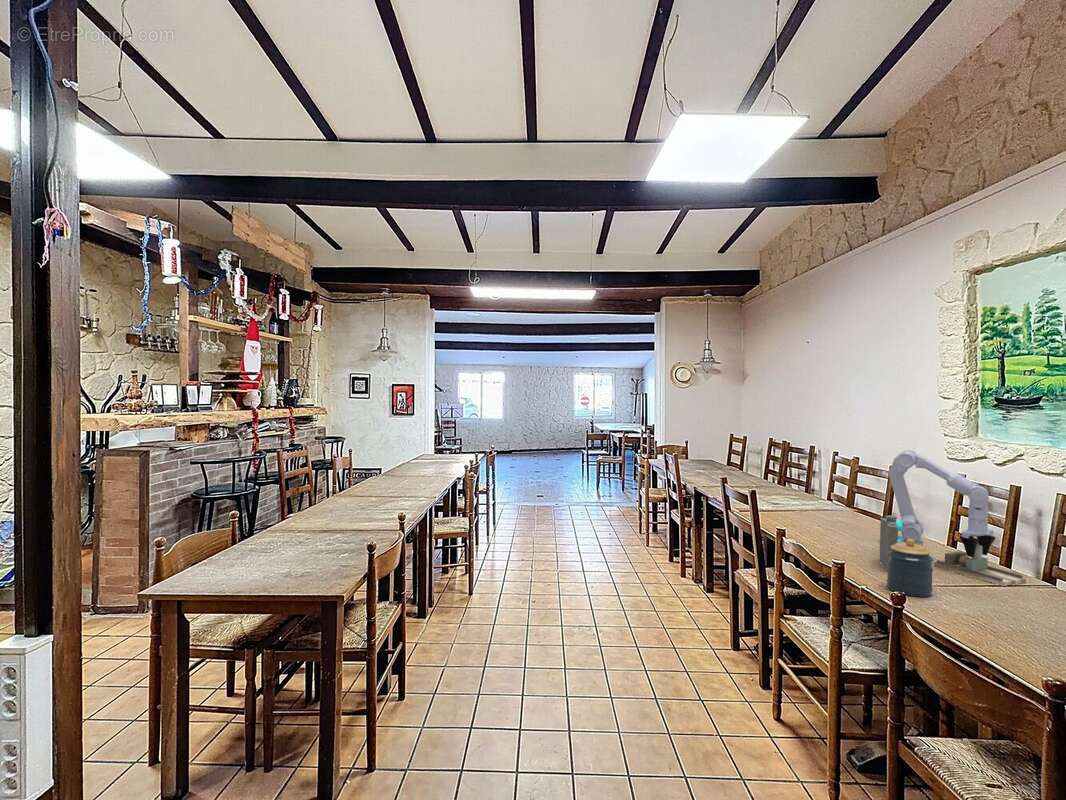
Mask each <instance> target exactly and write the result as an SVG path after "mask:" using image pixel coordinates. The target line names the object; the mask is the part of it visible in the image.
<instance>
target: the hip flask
mask: <svg viewBox="0 0 1066 800" xmlns="http://www.w3.org/2000/svg"><path fill="white" fill-rule="evenodd" d="M896 520H898V516H894V515H885V517H880V525H879V526H880V527H879V528H880V530H879V533H880V534H879V563H880V562H881V563H882V564H883V565H884V566H885V567H886V568H885V567H884V568H885V570H886V569H887V570H886V573H887V572H888V564H887V562H888V561H889V555H888V554H887V553H888V552H889V551H891V550H892V549H891V545H894V544H896V543H898V536H899V531H898V525H897V524H896ZM881 563H880V564H881ZM882 564H881V565H882ZM883 565H882V566H883Z"/></svg>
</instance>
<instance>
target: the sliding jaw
mask: <svg viewBox="0 0 1066 800" xmlns="http://www.w3.org/2000/svg"><path fill="white" fill-rule="evenodd" d="M982 547H983V546H981V545H979V544H977V545H976V549H975V555H974V557H970V559H966V568H967V569H971V570H974V571H978V570H985V569H988V566H989V564H988V561H989V559H988V558H987V557H983V555H982Z"/></svg>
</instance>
